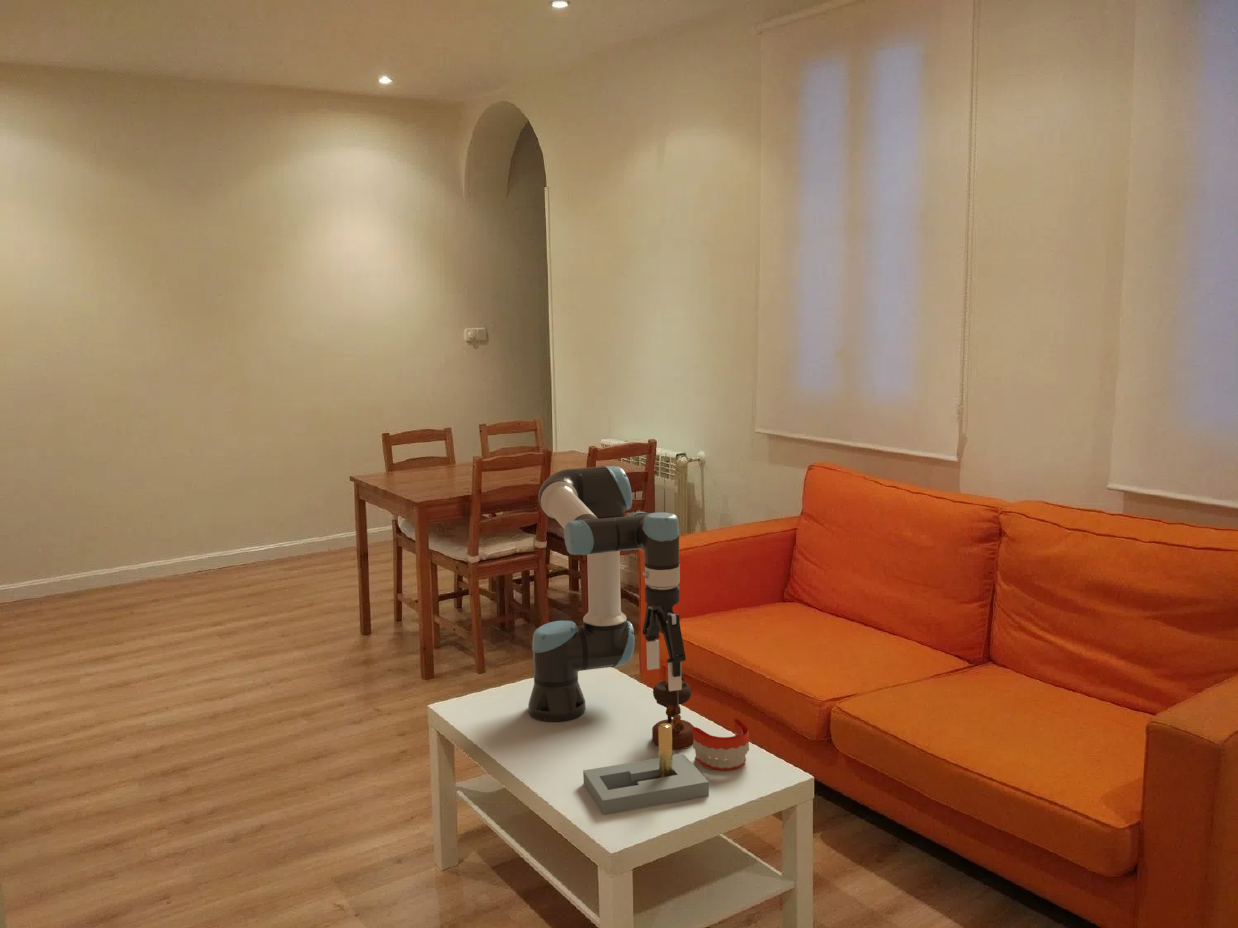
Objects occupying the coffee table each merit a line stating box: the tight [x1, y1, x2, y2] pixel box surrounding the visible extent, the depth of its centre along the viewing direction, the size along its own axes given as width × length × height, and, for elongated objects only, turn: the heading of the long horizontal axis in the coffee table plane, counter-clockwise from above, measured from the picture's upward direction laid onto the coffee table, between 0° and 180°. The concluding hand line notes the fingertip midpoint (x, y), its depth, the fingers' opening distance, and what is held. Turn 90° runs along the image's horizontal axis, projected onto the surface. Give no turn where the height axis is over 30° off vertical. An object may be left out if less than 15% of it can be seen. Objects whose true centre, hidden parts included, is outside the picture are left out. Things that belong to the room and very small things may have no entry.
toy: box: [692, 718, 750, 771], centre depth 235 cm, size 12×10×8 cm
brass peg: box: [658, 723, 673, 778], centre depth 224 cm, size 6×6×14 cm
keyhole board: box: [582, 753, 710, 815], centre depth 223 cm, size 15×24×3 cm, turn 108°
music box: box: [651, 669, 695, 751], centre depth 247 cm, size 15×11×20 cm
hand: (663, 679), depth 221 cm, fingers open, 13 cm apart
